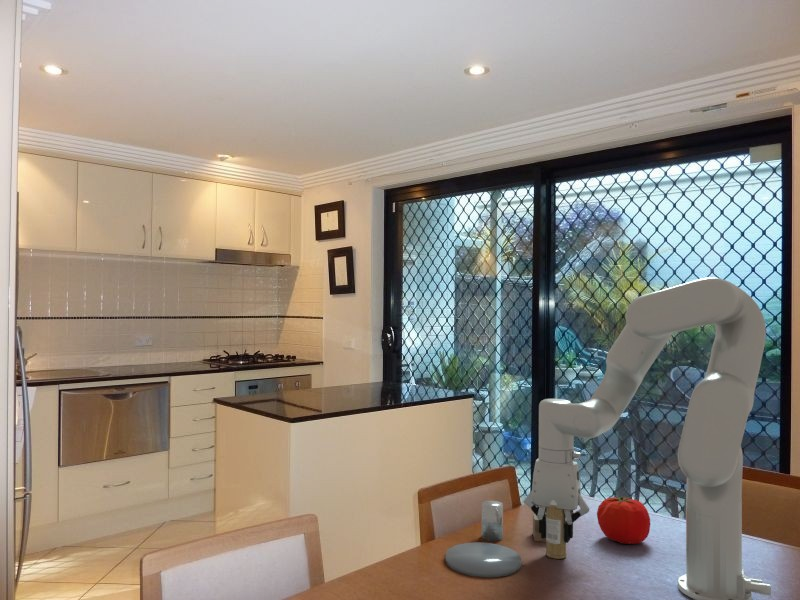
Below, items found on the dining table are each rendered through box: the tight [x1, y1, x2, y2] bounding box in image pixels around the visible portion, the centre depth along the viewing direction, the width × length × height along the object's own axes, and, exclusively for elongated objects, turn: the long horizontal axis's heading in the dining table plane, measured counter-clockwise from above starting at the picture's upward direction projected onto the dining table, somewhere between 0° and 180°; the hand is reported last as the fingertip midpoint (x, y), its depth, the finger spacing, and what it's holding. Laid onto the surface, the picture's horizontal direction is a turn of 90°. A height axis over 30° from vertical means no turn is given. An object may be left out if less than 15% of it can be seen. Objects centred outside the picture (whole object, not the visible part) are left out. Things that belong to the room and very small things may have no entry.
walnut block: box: [532, 512, 546, 542], centre depth 146 cm, size 5×5×5 cm
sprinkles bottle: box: [545, 500, 567, 560], centre depth 135 cm, size 5×5×13 cm
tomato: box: [596, 495, 651, 545], centre depth 144 cm, size 12×12×10 cm
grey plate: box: [445, 541, 522, 578], centre depth 131 cm, size 16×16×1 cm
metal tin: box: [481, 500, 504, 542], centre depth 145 cm, size 5×5×8 cm
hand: (555, 537), depth 135 cm, fingers closed on sprinkles bottle, 4 cm apart
